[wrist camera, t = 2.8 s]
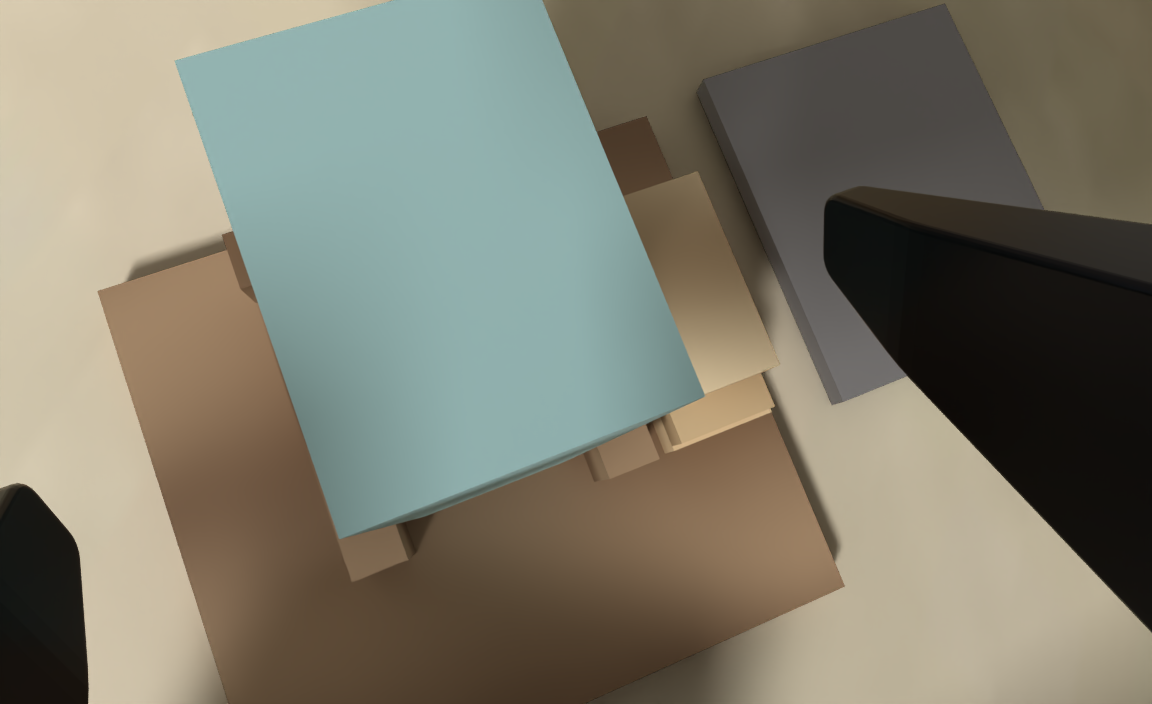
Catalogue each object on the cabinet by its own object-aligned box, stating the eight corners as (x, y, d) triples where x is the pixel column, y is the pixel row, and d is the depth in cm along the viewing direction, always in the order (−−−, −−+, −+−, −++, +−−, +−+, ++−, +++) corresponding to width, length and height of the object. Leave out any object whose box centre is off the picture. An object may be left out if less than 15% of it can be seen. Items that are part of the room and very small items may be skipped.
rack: (828, 582, 18) (921, 603, 14) (282, 826, 16) (223, 926, 12) (639, 132, 19) (678, 42, 15) (115, 301, 17) (14, 244, 13)
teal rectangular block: (565, 461, 17) (705, 395, 7) (425, 516, 16) (338, 540, 6) (496, 282, 17) (527, -37, 7) (358, 330, 17) (173, 60, 7)
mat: (1070, 308, 20) (1089, 302, 19) (832, 404, 19) (843, 401, 18) (931, 17, 21) (944, 3, 20) (696, 92, 20) (703, 79, 19)
